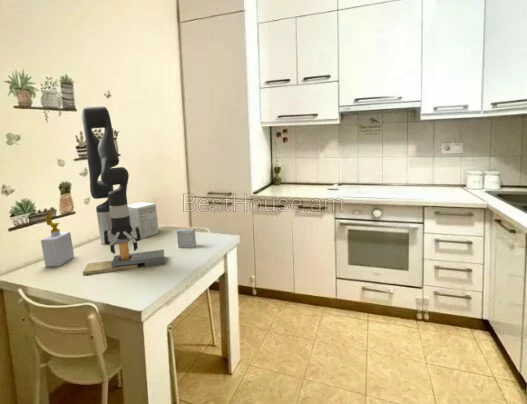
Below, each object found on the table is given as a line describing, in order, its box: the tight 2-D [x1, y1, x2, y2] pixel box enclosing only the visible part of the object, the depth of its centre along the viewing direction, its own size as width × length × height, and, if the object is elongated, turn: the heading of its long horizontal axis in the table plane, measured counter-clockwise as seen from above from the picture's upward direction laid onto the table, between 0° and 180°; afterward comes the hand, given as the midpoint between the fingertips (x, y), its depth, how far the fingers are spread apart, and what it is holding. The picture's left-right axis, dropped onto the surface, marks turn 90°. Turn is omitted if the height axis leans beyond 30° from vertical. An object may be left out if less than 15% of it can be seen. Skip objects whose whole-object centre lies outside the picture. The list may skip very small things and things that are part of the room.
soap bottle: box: [40, 211, 75, 268], centre depth 156 cm, size 12×7×23 cm, turn 179°
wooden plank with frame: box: [82, 249, 166, 276], centre depth 149 cm, size 32×10×4 cm, turn 106°
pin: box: [116, 238, 130, 260], centre depth 148 cm, size 5×5×12 cm
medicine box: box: [176, 228, 197, 249], centre depth 171 cm, size 8×4×9 cm, turn 84°
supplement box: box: [128, 201, 160, 239], centre depth 195 cm, size 13×13×18 cm
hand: (124, 251), depth 148 cm, fingers open, 8 cm apart
